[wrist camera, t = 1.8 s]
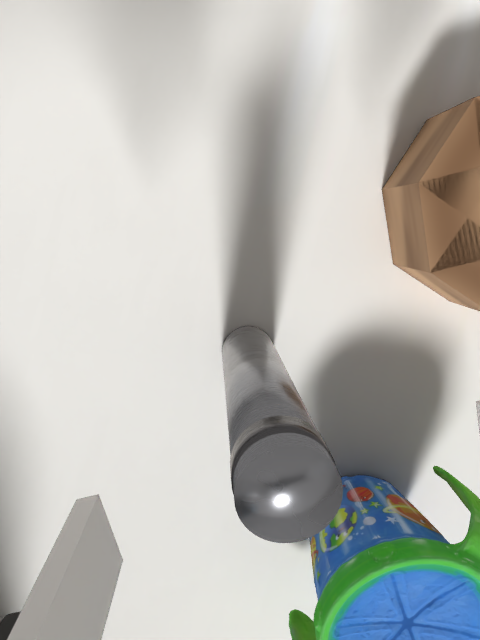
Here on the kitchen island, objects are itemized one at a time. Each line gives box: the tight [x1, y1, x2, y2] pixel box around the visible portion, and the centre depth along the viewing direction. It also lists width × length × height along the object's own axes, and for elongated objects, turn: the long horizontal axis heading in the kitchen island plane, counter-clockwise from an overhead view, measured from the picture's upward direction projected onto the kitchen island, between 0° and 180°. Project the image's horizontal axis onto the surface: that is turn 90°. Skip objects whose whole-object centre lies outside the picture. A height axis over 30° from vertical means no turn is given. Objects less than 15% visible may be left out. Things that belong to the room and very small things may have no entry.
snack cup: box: [289, 466, 480, 640], centre depth 28 cm, size 16×10×10 cm
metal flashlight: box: [222, 326, 343, 543], centre depth 22 cm, size 4×4×16 cm
